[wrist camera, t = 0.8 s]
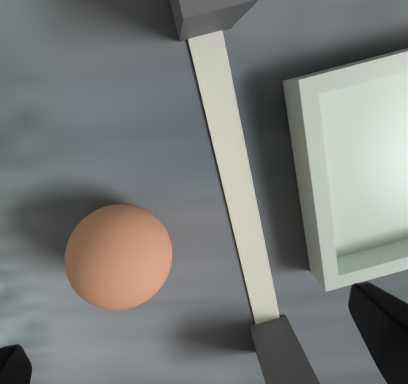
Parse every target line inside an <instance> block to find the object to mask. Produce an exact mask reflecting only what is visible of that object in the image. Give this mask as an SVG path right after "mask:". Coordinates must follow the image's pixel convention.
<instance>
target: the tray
mask: <svg viewBox="0 0 408 384" xmlns="http://www.w3.org/2000/svg"><path fill="white" fill-rule="evenodd" d="M282 82H283V89H284V96H285V103H286V109H287V116H288V123H289V130H290V137H291V144H292V150H293V157H294V164H295V171H296V178H297V184H298V191H299V198H300V205H301V212H302V218H303V225H304V232H305V239H306V246H307V252H308V259H309V266H310V271H311V273H312V274H313V275H314V277H315V278H316V279H317V281H318V282H319V283H320V284H321V286H322V287H323V288H324V290H325V291H330V290H334V289H337V288H341V287H345V286H348V285H352V284H354V283H359V282H363V281H366V280H370V279H374V278H377V277H381V276H385V275H388V274H392V273H396V272H399V271H403V270H406V269H408V48H406V49H402V50H398V51H394V52H390V53H387V54H383V55H379V56H375V57H371V58H368V59H364V60H360V61H356V62H352V63H349V64H345V65H341V66H337V67H333V68H330V69H326V70H322V71H318V72H314V73H311V74H307V75H303V76H299V77H295V78H292V79H288V80H284V81H282Z"/></svg>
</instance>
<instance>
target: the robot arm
mask: <svg viewBox="0 0 408 384" xmlns="http://www.w3.org/2000/svg"><path fill="white" fill-rule="evenodd" d="M348 306H349V311H350V314H351V316H352V318H353V320H354V322H355V324H356V326H357V328H358V330H359V332H360V334H361V336H362V338H363V340H364V342H365V344H366V346H367V348H368V350H369V352H370V354H371V356H372V358H373V360H374V362H375V363H376V365H377V367H378V369H379V371H380V372H381V374H382V376H383V377H384V379H385V380H386V382H387V384H408V303H406V302H404V301H402V300H401V299H399V298H397V297H395V296H393V295H392V294H390V293H388V292H386V291H384V290H382V289H381V288H379V287H377V286H375V285H373V284H372V283H370V282H359V283H354V284H353V285H352V286H351V291H350V297H349V303H348ZM31 374H32V366H31V362H30V361H29V359H28V357H27V355H26V353H25V352H24V350H23V348H22V346H20V345H19V344H16V345H10V346H5V347H2V348H0V384H30V379H31Z"/></svg>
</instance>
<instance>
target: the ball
mask: <svg viewBox="0 0 408 384" xmlns="http://www.w3.org/2000/svg"><path fill="white" fill-rule="evenodd" d="M171 263H172V245H171V241H170V238H169V235H168V233H167V231H166V229H165V227H164V226H163V224H162V223H161V222H160V221H159V220H158V219H157V218H156V217H155V216H154V215H153V214H151V213H150V212H148V211H147V210H145V209H143V208H140V207H137V206H134V205H128V204H114V205H109V206H105V207H102V208H100V209H97V210H95V211H94V212H92V213H90V214H89V215H87V216H86V217H85V218H84V219H83V220H82V221H81V222H80V223H79V224H78V225H77V226H76V227H75V229H74V230H73V232H72V234H71V236H70V238H69V240H68V242H67V246H66V251H65V270H66V274H67V277H68V279H69V282H70V284H71V286H72V287H73V289H74V290H75V291H76V292H77V294H78V295H79V296H80V297H81V298H82V299H84V300H85V301H86V302H88V303H90V304H92V305H94V306H96V307H99V308H103V309H107V310H124V309H129V308H132V307H135V306H138V305H140V304H142V303H144V302H145V301H147V300H148V299H150V298H151V297H152V296H153V295H154V294H155V293H156V292H157V291H158V290H159V289H160V288H161V286H162V285H163V284H164V282H165V280H166V278H167V276H168V274H169V271H170V268H171Z"/></svg>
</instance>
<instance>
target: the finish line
mask: <svg viewBox="0 0 408 384" xmlns="http://www.w3.org/2000/svg"><path fill="white" fill-rule="evenodd" d="M257 1H258V0H169V2H170V6H171V10H172V14H173V18H174V22H175V26H176V30H177V34H178V38H179V41H183V40H187V39H188V42H189V46H190V51H191V55H192V59H193V63H194V67H195V72H196V76H197V80H198V84H199V88H200V93H201V97H202V101H203V105H204V109H205V114H206V118H207V122H208V126H209V131H210V135H211V139H212V143H213V147H214V152H215V156H216V160H217V164H218V168H219V173H220V177H221V181H222V185H223V189H224V194H225V198H226V202H227V206H228V211H229V215H230V219H231V223H232V227H233V232H234V236H235V240H236V244H237V248H238V253H239V257H240V261H241V265H242V269H243V274H244V278H245V282H246V286H247V291H248V295H249V299H250V303H251V307H252V312H253V316H254V320H255V324H252V325H249V326H250V330H251V334H252V338H253V342H254V346H255V350H256V354H257V357H258V360H259V363H260V367H261V370H262V373H263V376H264V379H265V382H266V384H320V383H319V381H318V379H317V377H316V375H315V373H314V371H313V369H312V367H311V365H310V363H309V361H308V359H307V357H306V355H305V353H304V351H303V349H302V347H301V345H300V343H299V341H298V339H297V337H296V335H295V333H294V331H293V329H292V327H291V325H290V323H289V321H288V319H287V317H286V315H285V316H281V317H280V316H279V311H278V306H277V301H276V296H275V291H274V286H273V281H272V276H271V271H270V266H269V261H268V256H267V251H266V246H265V241H264V236H263V231H262V226H261V221H260V216H259V211H258V206H257V201H256V196H255V191H254V186H253V181H252V176H251V171H250V166H249V161H248V156H247V151H246V146H245V141H244V136H243V131H242V126H241V121H240V116H239V111H238V106H237V101H236V96H235V91H234V86H233V81H232V76H231V71H230V66H229V61H228V56H227V51H226V46H225V41H224V36H223V31H222V30H226V29H229V28H231V27H232V26H233V25H234V24H235V23H236V22H237V21H238V20H239V19H240V18H241V17H242V16H243V15H244V14H245V13H246V12H247V11H248V10H249V9H250V8H251V7H252V6H253V5H254V4H255V3H256V2H257Z"/></svg>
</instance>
